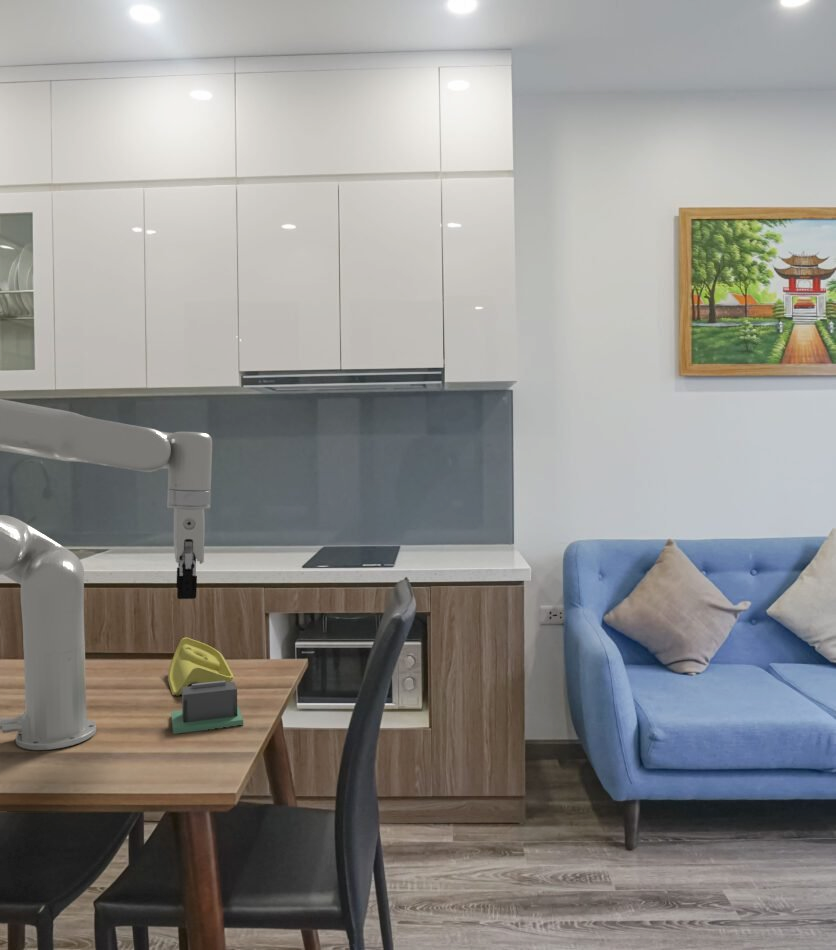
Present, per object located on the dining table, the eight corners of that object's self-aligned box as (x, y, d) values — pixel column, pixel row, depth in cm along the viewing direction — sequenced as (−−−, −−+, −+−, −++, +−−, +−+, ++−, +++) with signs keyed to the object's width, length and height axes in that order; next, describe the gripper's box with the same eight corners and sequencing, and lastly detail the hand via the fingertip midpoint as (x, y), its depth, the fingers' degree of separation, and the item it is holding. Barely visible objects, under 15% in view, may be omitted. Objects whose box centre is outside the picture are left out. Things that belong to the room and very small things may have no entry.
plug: (183, 722, 137) (183, 691, 137) (182, 714, 142) (181, 684, 141) (237, 716, 141) (237, 685, 140) (234, 708, 145) (234, 678, 144)
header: (173, 733, 135) (172, 708, 134) (171, 716, 143) (171, 692, 143) (243, 725, 139) (242, 700, 139) (237, 708, 147) (237, 685, 147)
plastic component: (235, 679, 158) (190, 664, 154) (219, 713, 157) (173, 698, 153) (219, 648, 176) (178, 634, 172) (204, 678, 175) (163, 664, 171)
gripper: (213, 503, 133) (209, 602, 134) (207, 497, 150) (204, 584, 150) (167, 502, 131) (164, 603, 131) (167, 496, 147) (164, 585, 148)
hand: (186, 593), depth 141 cm, fingers open, 9 cm apart
